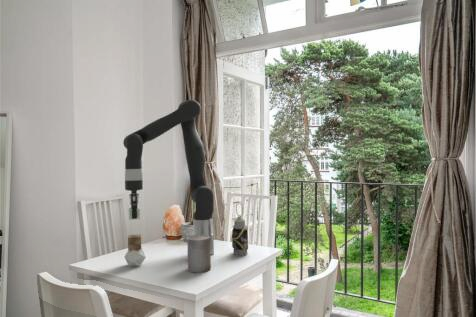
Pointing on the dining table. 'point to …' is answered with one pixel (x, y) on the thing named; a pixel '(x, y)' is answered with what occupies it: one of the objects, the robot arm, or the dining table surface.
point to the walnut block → (134, 242)
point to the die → (135, 257)
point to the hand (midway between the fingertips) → (134, 217)
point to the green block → (131, 213)
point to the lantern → (240, 236)
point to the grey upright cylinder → (199, 253)
